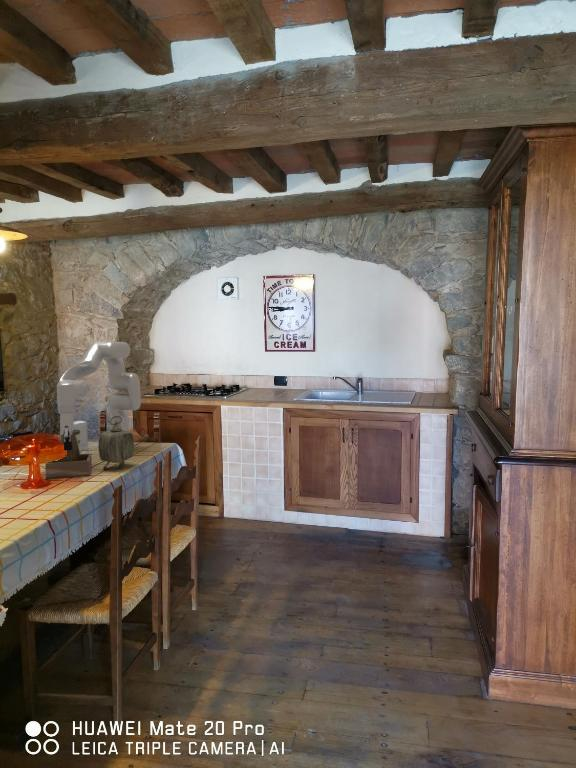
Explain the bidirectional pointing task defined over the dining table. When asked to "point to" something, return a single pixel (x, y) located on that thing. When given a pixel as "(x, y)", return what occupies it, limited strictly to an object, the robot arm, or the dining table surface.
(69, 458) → the brown tall tapered piece
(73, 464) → the walled box
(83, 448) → the skincare box
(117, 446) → the tabletop clock
